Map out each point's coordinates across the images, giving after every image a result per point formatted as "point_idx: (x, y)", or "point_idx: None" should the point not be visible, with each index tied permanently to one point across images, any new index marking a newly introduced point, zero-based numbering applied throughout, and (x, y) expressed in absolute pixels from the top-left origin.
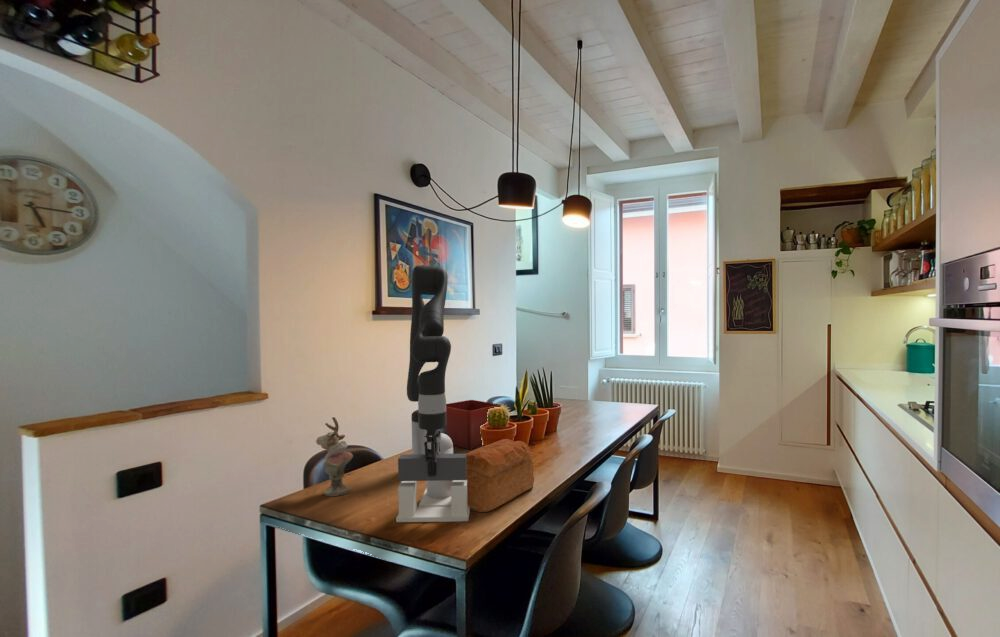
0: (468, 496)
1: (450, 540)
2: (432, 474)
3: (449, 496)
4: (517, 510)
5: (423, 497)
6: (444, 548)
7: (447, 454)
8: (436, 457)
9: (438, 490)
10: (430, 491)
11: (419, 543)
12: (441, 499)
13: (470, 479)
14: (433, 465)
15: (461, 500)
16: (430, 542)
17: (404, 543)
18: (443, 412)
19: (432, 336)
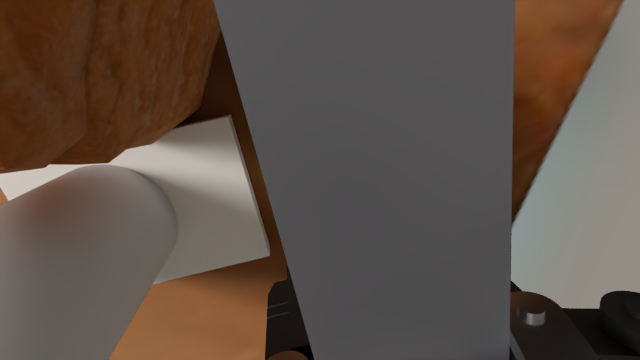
0: (202, 39)
1: (519, 35)
2: None
3: (134, 171)
4: None
5: (185, 270)
6: (576, 38)
7: (329, 264)
8: (515, 335)
9: (162, 226)
10: (165, 259)
11: (534, 137)
12: (183, 193)
13: (154, 11)
14: (516, 289)
15: None
16: (529, 103)
17: (531, 182)
18: None
19: None
